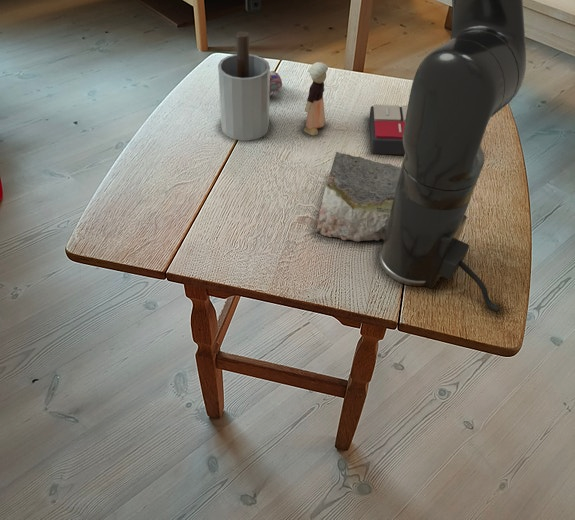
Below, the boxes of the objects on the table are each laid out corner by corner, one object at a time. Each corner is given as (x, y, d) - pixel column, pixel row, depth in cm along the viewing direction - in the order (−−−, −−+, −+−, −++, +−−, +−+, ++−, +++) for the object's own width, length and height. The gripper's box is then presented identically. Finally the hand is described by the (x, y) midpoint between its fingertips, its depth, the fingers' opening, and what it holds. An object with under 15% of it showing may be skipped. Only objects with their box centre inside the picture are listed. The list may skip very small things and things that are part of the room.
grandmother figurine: (321, 140, 99) (327, 75, 90) (300, 136, 99) (304, 72, 90) (327, 117, 104) (334, 53, 95) (307, 114, 105) (312, 50, 95)
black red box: (370, 102, 102) (452, 104, 101) (368, 122, 105) (448, 124, 104) (373, 136, 94) (461, 138, 93) (370, 156, 97) (456, 159, 96)
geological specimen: (402, 161, 87) (393, 219, 77) (394, 192, 92) (384, 251, 81) (336, 148, 89) (319, 203, 78) (331, 178, 93) (314, 235, 82)
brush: (259, 123, 101) (260, 33, 88) (246, 133, 99) (244, 42, 86) (242, 116, 102) (240, 26, 90) (229, 125, 100) (225, 34, 88)
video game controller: (232, 106, 108) (234, 85, 101) (228, 86, 109) (230, 64, 103) (281, 101, 110) (286, 81, 103) (276, 82, 111) (281, 60, 105)
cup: (277, 124, 102) (279, 64, 93) (249, 146, 97) (248, 84, 88) (241, 108, 105) (239, 48, 96) (211, 129, 100) (207, 67, 91)
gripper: (288, -114, 69) (284, 15, 81) (246, -140, 78) (248, -20, 90) (232, -109, 67) (236, 23, 79) (195, -137, 75) (204, -14, 87)
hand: (242, 0), depth 84 cm, fingers open, 8 cm apart
